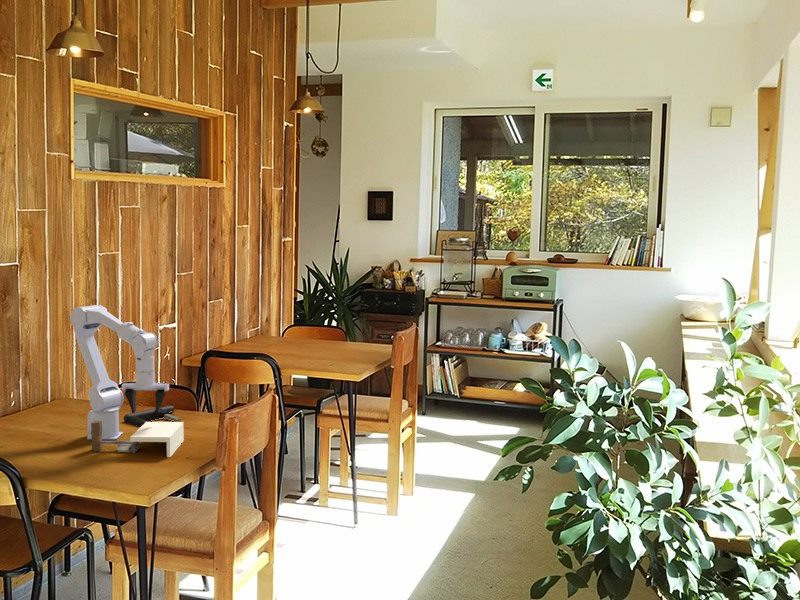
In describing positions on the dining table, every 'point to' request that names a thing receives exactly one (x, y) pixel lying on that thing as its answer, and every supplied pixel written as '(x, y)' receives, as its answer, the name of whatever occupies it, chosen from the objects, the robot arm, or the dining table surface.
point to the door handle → (150, 416)
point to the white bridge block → (161, 434)
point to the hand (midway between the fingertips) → (146, 412)
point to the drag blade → (97, 441)
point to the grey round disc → (124, 447)
